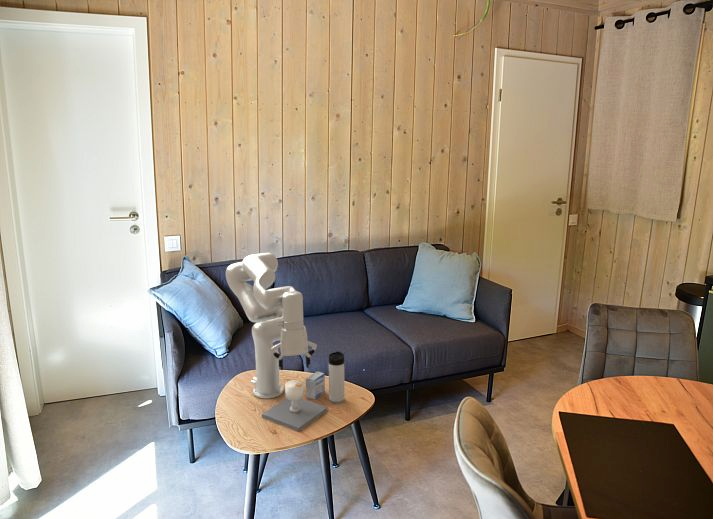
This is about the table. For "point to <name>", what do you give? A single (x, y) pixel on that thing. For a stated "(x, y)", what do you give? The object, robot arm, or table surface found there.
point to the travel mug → (336, 377)
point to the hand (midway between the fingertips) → (294, 367)
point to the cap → (294, 390)
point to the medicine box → (315, 385)
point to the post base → (294, 413)
